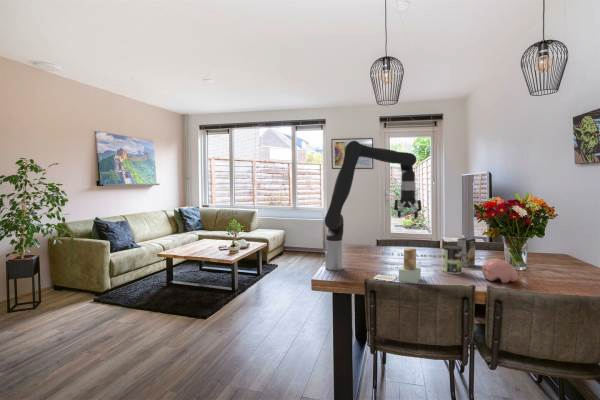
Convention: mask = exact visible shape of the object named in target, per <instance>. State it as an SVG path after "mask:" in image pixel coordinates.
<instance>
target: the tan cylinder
mask: <svg viewBox="0 0 600 400" xmlns="http://www.w3.org/2000/svg"><path fill="white" fill-rule="evenodd" d="M403 265H404V269H408V270H414V269H415V268H416V267H417V248H411V247H410V248H409V247H406V248H404V249H403Z"/></svg>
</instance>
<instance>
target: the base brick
mask: <svg viewBox="0 0 600 400" xmlns="http://www.w3.org/2000/svg"><path fill="white" fill-rule="evenodd" d="M421 269H422V268H421V267H420V266H416V268H415V269H414V270H408V269H404V264H403V265H401V267H400V268H398V281H399V282H404V283H410V284H411V283H412V284H418V283H419V281H420V280H421V279H420V278H421V275H422V273H421V271H422V270H421Z"/></svg>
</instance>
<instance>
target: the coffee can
mask: <svg viewBox="0 0 600 400" xmlns="http://www.w3.org/2000/svg"><path fill="white" fill-rule="evenodd" d="M461 265H462V247H460V246H457V245H455V244H452V245H451V244H445V245H441V272H443V271H444V272H443V273H445V272H446V273H445V274H449V273H450V274H452V275H460V274H462V266H461ZM450 274H449V275H450Z"/></svg>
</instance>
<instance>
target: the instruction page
mask: <svg viewBox="0 0 600 400" xmlns="http://www.w3.org/2000/svg"><path fill="white" fill-rule="evenodd" d="M396 278H397V276H392V275H391V276H390V275H383V274H376V275H375V276H374V277H373V278H372V279H373V280H376V279H378V281H383V280H385V282H389V281H393V282H394V281H395V280H396Z"/></svg>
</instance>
